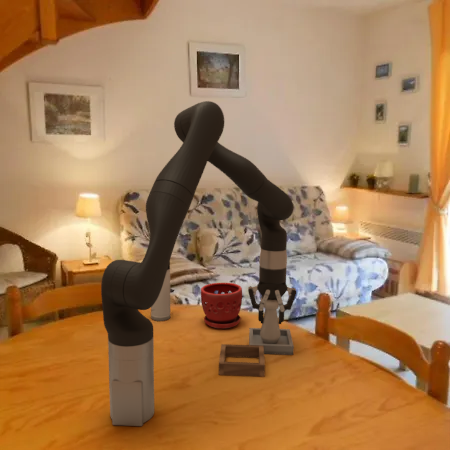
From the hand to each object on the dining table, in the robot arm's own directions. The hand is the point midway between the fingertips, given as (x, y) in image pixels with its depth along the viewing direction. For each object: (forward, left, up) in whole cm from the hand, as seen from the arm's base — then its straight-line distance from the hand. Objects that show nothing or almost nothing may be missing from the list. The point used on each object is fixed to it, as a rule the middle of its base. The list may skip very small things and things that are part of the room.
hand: (271, 322), depth 135 cm
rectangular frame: (-13, +8, -7) cm, 17 cm away
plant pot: (+15, +15, -7) cm, 22 cm away
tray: (0, 0, -7) cm, 7 cm away
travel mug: (+18, +35, -7) cm, 40 cm away
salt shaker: (0, 0, -6) cm, 6 cm away
